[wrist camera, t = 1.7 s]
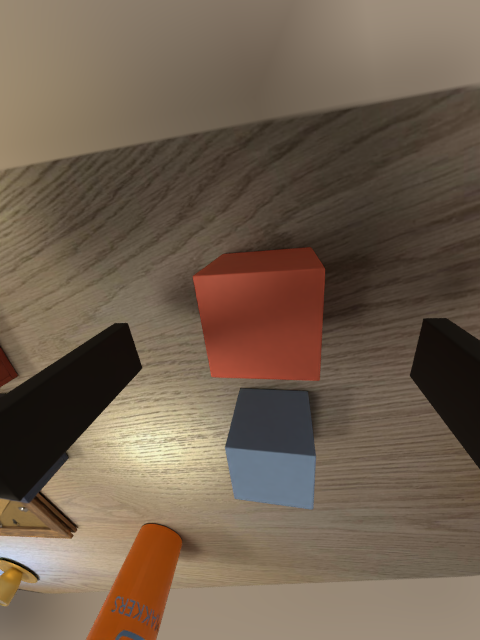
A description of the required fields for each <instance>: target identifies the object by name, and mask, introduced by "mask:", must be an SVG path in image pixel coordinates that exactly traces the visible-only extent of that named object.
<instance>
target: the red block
mask: <svg viewBox="0 0 480 640" xmlns="http://www.w3.org/2000/svg"><path fill="white" fill-rule="evenodd" d="M193 281H194V286H195V291H196V297H197V302H198V307H199V313H200V318H201V323H202V328H203V334H204V339H205V344H206V350H207V355H208V360H209V366H210V371H211V376H212V377H221V378H251V379H282V380H312V381H319V380H320V365H321V345H322V325H323V306H324V286H325V268H324V266H323V264H322V263H321V261H320V260H319V258H318V257H317V255H316V254H315V252H314V251H313V249H312V248H311V247H306V248H293V249H280V250H267V251H254V252H241V253H229V254H222V255H221V256H220V257H218V258H217V259H215V260H214V261H213V262H211V263H210V264H209V265H207V266H206V267H205V268H203V269H202V270H200V271H199V272H198V273H196V274H195V275H194V276H193Z"/></svg>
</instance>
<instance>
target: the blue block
mask: <svg viewBox="0 0 480 640" xmlns="http://www.w3.org/2000/svg"><path fill="white" fill-rule="evenodd" d="M225 450H226V455H227V461H228V466H229V471H230V477H231V482H232V487H233V492H234V498H235V499H240V500H247V501H255V502H262V503H269V504H276V505H283V506H290V507H298V508H305V509H313V503H314V483H315V464H316V453H315V445H314V437H313V428H312V420H311V412H310V404H309V396H308V391H291V390H267V389H244V388H240V391H239V395H238V398H237V402H236V406H235V410H234V414H233V418H232V422H231V426H230V430H229V434H228V438H227V442H226V446H225Z"/></svg>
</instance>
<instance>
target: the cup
mask: <svg viewBox="0 0 480 640" xmlns="http://www.w3.org/2000/svg"><path fill="white" fill-rule="evenodd" d="M0 569H1V570H2V571H4V573H3V574H2V575H1V576H0V605H2V606H8V605H9V603H10V602H11V600H12V598H13V597H14V595H15V593H16V591H17V590H18V587H19V585H20V582H21V580H22V581H25V582H29V583H36V582H37V581H38V580H37V578H36V577H35V576H34V575H33V574H31V573H30V572H29V571H27V570H25V569H24V568H22V567H20V566H18V565H15V564H13V563H10V562H7V561H4V560H0Z"/></svg>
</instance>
